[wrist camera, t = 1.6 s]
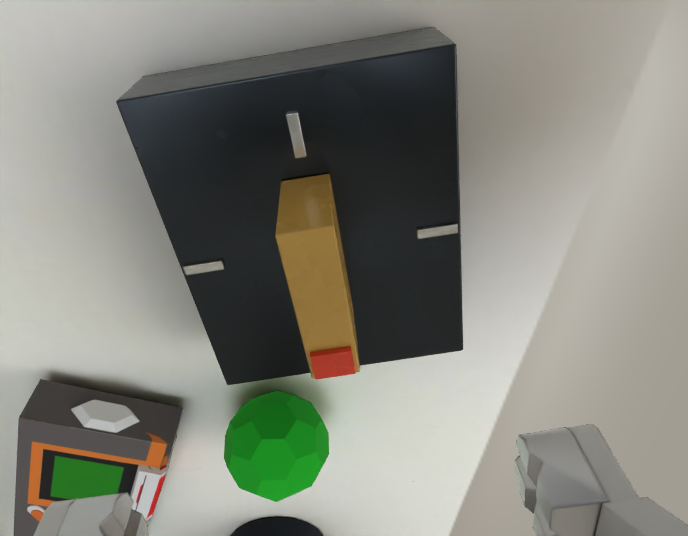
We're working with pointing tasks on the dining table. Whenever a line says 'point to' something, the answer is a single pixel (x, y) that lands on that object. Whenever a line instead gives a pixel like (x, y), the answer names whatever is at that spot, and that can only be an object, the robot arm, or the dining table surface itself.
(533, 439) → the robot arm
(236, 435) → the polyhedron
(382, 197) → the block
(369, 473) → the dining table surface
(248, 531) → the insulated water bottle
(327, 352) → the tap handle
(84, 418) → the electronic device
